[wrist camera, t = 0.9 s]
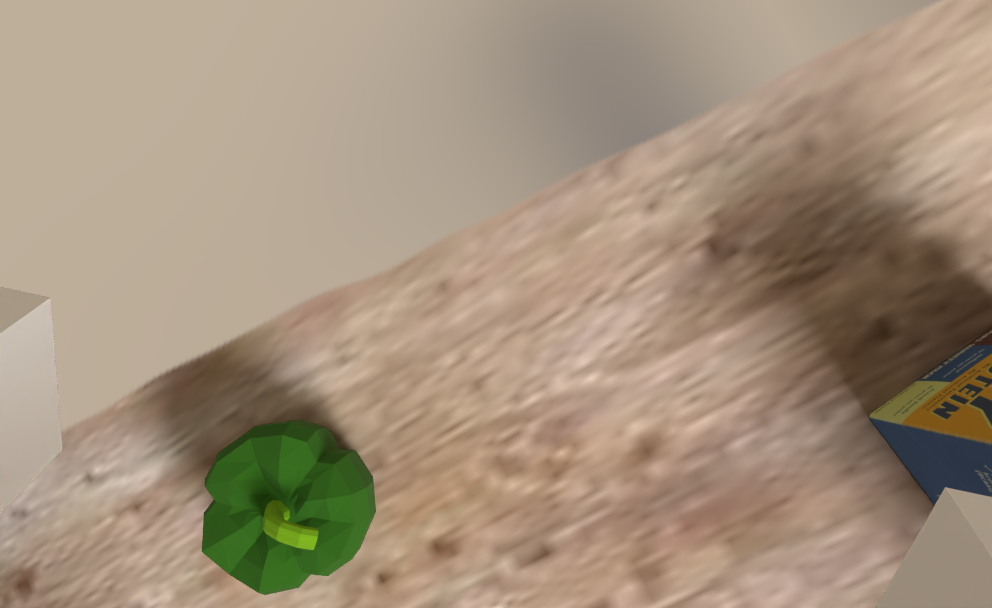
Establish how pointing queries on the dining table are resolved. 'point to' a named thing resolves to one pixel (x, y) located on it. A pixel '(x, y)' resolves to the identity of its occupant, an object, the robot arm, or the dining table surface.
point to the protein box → (946, 423)
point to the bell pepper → (286, 506)
